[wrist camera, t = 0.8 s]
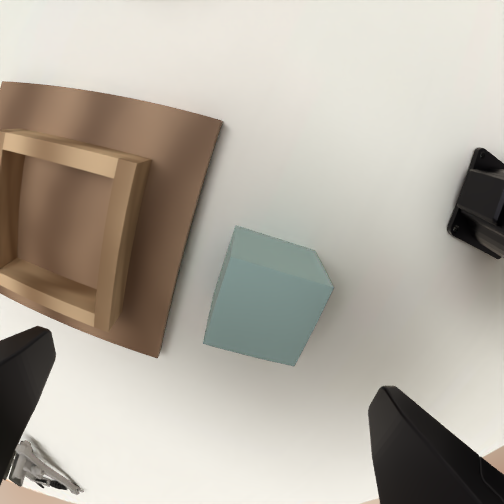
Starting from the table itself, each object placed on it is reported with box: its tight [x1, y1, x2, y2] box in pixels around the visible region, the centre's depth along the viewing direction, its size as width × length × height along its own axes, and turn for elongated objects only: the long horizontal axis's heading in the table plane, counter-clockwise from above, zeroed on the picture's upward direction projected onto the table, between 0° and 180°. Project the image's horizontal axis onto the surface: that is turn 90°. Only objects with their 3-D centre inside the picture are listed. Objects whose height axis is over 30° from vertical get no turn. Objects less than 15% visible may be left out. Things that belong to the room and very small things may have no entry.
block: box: [203, 226, 334, 366], centre depth 17 cm, size 5×5×5 cm
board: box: [0, 81, 223, 358], centre depth 17 cm, size 16×16×4 cm
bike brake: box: [3, 440, 84, 495], centre depth 29 cm, size 14×7×20 cm
